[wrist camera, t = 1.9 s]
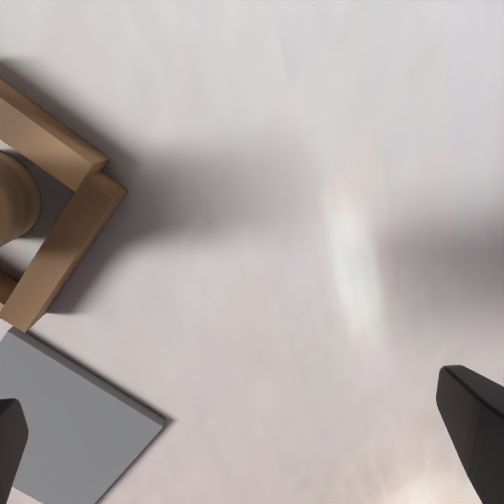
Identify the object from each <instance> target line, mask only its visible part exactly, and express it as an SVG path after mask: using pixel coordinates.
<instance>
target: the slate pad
mask: <svg viewBox="0 0 504 504" xmlns="http://www.w3.org/2000/svg"><path fill="white" fill-rule="evenodd" d="M8 398H16V399H18V400H19V401H20V403H21V406H22V409H23V412H24V415H25V419H26V422H27V425H28V430H29V436H28V441H27V444H26V447H25V450H24V453H23V456H22V459H21V462H20V465H19V468H18V470H17V473H16V476H15V479H14V482H13V485H12V487H14V488H16V489H18V490H19V491H21V492H23V493H25V494H27V495H29V496H30V497H32V498H34V499H36V500H38V501H40V502H42V503H43V504H95V503H96V501H97V500H98V499H99V498H100V497H101V496H102V495H103V494H104V492H105V491H106V490H107V489H108V488H109V487H110V486H111V485H112V484H113V482H114V481H115V480H116V479H117V478H118V477H119V476H120V475H121V474H122V472H123V471H124V470H125V469H126V468H127V467H128V466H129V465H130V463H131V462H132V461H133V460H134V459H135V458H136V457H137V456H138V455H139V453H140V452H141V451H142V450H143V449H144V448H145V447H146V446H147V445H148V443H149V442H150V441H151V440H152V439H153V438H154V437H155V436H156V434H157V433H158V432H159V431H160V430H161V429H162V428H163V426H164V423H165V419H164V418H162V417H160V416H159V415H157V414H156V413H154V412H152V411H151V410H149V409H148V408H146V407H144V406H143V405H141V404H139V403H138V402H136V401H135V400H133V399H131V398H130V397H128V396H127V395H125V394H123V393H122V392H120V391H119V390H117V389H115V388H114V387H112V386H111V385H109V384H107V383H106V382H104V381H103V380H101V379H99V378H98V377H96V376H95V375H93V374H91V373H90V372H88V371H86V370H85V369H83V368H82V367H80V366H78V365H77V364H75V363H74V362H72V361H70V360H69V359H67V358H66V357H64V356H62V355H61V354H59V353H58V352H56V351H54V350H53V349H51V348H50V347H48V346H46V345H45V344H43V343H41V342H40V341H38V340H37V339H35V338H33V337H32V336H30V335H29V334H27V333H24V332H23V331H21V330H19V329H18V328H16V327H15V326H13V327H12V328H11V329H9V330H8V331H7V333H6V334H5V336H4V337H3V339H2V341H1V342H0V399H8Z"/></svg>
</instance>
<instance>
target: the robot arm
mask: <svg viewBox="0 0 504 504" xmlns="http://www.w3.org/2000/svg"><path fill="white" fill-rule="evenodd" d="M436 402H437V407H438V409H439V412H440V414H441V416H442V419H443V421H444V423H445V426H446V428H447V430H448V433H449V435H450V437H451V440H452V442H453V444H454V447H455V449H456V451H457V453H458V456H459V458H460V460H461V463H462V465H463V467H464V469H465V471H466V474H467V476H468V478H469V480H470V481H471V483H472V485H473V487H474V489H475V491H476V493H477V494H478V496H479V498H480V500H481V502H482V503H483V504H504V387H503V386H501V385H499V384H497V383H495V382H494V381H492V380H490V379H488V378H486V377H484V376H482V375H480V374H478V373H476V372H474V371H472V370H470V369H468V368H466V367H464V366H462V365H449V366H443V367H442V368H441V369H440V372H439V379H438V386H437V393H436ZM28 436H29V430H28V425H27V422H26V419H25V415H24V412H23V409H22V406H21V403H20V401H19V400H18V399H16V398H8V399H0V504H6V503H7V500H8V497H9V494H10V491H11V488H12V485H13V482H14V479H15V476H16V473H17V470H18V468H19V465H20V462H21V459H22V456H23V453H24V450H25V447H26V444H27V441H28Z"/></svg>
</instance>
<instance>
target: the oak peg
mask: <svg viewBox="0 0 504 504" xmlns="http://www.w3.org/2000/svg"><path fill="white" fill-rule="evenodd" d="M40 210H41V197H40V192H39V189H38V186H37V184H36V182H35V180H34V178H33V176H32V175H31V173H30V172H29V171H28V170H27V168H26V167H25V166H24V165H23V164H21V163H20V162H19V161H18V160H16V159H15V158H13V157H12V156H10V155H8V154H6V153H3V152H0V247H1V246H3V245H5V244H6V243H8V242H10V241H12V240H14V239H16V238H17V237H19V236H21V235H23V234H25V233H26V232H28V231H29V230H30V229H31V228H32V227H33V226H34V225H35V223H36V221H37V220H38V217H39V214H40Z"/></svg>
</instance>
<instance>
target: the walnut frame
mask: <svg viewBox="0 0 504 504" xmlns="http://www.w3.org/2000/svg"><path fill="white" fill-rule="evenodd" d="M0 139H1V140H2V141H3V142H5V143H6V144H8V145H9V146H11V147H12V148H13V149H15V150H16V151H18V152H19V153H20V154H22V155H23V156H25V157H26V158H28V159H29V160H30V161H32V162H33V163H35V164H36V165H37V166H39V167H40V168H42V169H43V170H45V171H46V172H47V173H49V174H50V175H52V176H53V177H54V178H56V179H57V180H59V181H60V182H61V183H63V184H64V185H66V186H67V187H69V188H70V189H71V190H73V191H74V192H75V193H74V195H73V197H72V198H71V200H70V201H69V203H68V205H67V206H66V208H65V209H64V211H63V213H62V214H61V216H60V217H59V219H58V220H57V222H56V224H55V225H54V227H53V228H52V230H51V232H50V233H49V235H48V236H47V238H46V240H45V241H44V243H43V244H42V246H41V247H40V249H39V251H38V252H37V254H36V255H35V257H34V259H33V260H32V262H31V263H30V265H29V267H28V268H27V270H26V271H25V273H24V274H23V276H22V278H21V279H20V281H19V282H17V281H16V280H14V279H13V278H11V277H9V276H8V275H6V274H5V273H3V272H2V271H0V319H1V318H2V319H3V320H5V321H6V322H8V323H10V324H11V325H13V326H15V327H16V328H18V329H19V330H21V331H23V332H24V333H25V332H26V331H27V330H28V329H29V328H30V327H31V326H33V325H34V324H35V323H36V322H37V321H38V320H39V319H40V318H41V317H42V316H43V315H44V314H45V313H46V312H47V310H48V309H49V307H50V306H51V304H52V303H53V301H54V300H55V298H56V297H57V295H58V294H59V292H60V291H61V289H62V288H63V286H64V285H65V283H66V282H67V280H68V279H69V277H70V276H71V275H72V273H73V272H74V270H75V269H76V267H77V266H78V264H79V263H80V261H81V260H82V258H83V257H84V255H85V254H86V252H87V251H88V249H89V248H90V246H91V245H92V243H93V242H94V241H95V239H96V238H97V236H98V235H99V233H100V232H101V230H102V229H103V227H104V226H105V224H106V223H107V221H108V220H109V218H110V217H111V215H112V214H113V212H114V211H115V209H116V208H117V206H118V205H119V204H120V202H121V201H122V199H123V198H124V196H125V195H126V193H127V192H128V190H127V189H125V188H124V187H122V186H121V185H120V184H118V183H117V182H116V181H114V180H113V179H111V178H110V177H109V176H107V175H106V174H105V173H103V172H102V170H103V168H104V166H105V165H106V163H107V162H108V160H109V159H110V158H108V157H107V156H105V155H104V154H103V153H101V152H100V151H99V150H97V149H96V148H95V147H93V146H92V145H91V144H89V143H88V142H86V141H85V140H84V139H82V138H81V137H80V136H78V135H77V134H76V133H74V132H73V131H72V130H70V129H69V128H67V127H66V126H65V125H63V124H62V123H61V122H59V121H58V120H57V119H55V118H54V117H53V116H51V115H50V114H48V113H47V112H46V111H44V110H43V109H42V108H40V107H39V106H38V105H36V104H35V103H33V102H32V101H31V100H29V99H28V98H27V97H25V96H24V95H23V94H21V93H20V92H19V91H17V90H16V89H14V88H13V87H12V86H10V85H9V84H8V83H6V82H5V81H4V80H2V79H1V78H0Z"/></svg>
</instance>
